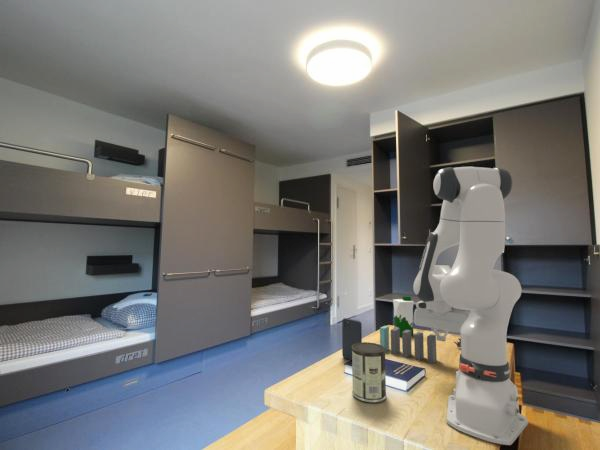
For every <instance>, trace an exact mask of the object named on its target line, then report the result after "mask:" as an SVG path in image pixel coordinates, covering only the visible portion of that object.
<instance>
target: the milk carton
mask: <svg viewBox="0 0 600 450" xmlns="http://www.w3.org/2000/svg"><path fill="white" fill-rule="evenodd" d="M414 302H415V301H414V300H412V298H411V296H410V295H402V298H397V299H392V304H393V325H394V326H393V328H400V338H402V332H403V331H405V330H411V338H412V337H413V338H414V334H415V333H414V312H413V311H414Z"/></svg>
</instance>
